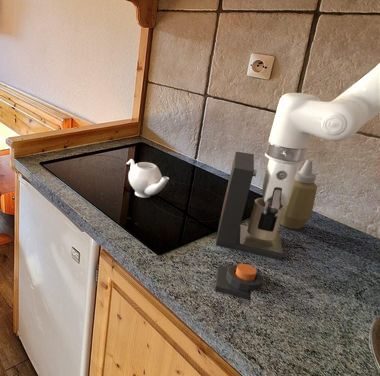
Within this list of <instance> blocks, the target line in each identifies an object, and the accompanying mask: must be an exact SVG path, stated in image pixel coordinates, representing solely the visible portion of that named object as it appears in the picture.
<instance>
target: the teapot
mask: <svg viewBox="0 0 380 376" xmlns="http://www.w3.org/2000/svg"><path fill="white" fill-rule="evenodd" d="M125 164H126V165H130V169H129V171H128V176H127V178H128V179H127V180H128V182H129V184H130V186H131V188H132V190H134V195H135V196H137V197H139V198H144V199H146V198H150V197H151V196H155V195H158V194H159V193H160V192H162V190H164V188H165V187H166V185H167V184H168V183H169V180H170V178H169V177H168V176H163V174H162V173H161V170H160V168H159V167H158V166H157V165H156V164H154V163H152V162H147V161H140V162H137V163H135V160H134V159H133V158H130V159H129V160H128V161H127V162H126V163H125Z"/></svg>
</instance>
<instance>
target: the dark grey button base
mask: <svg viewBox="0 0 380 376" xmlns="http://www.w3.org/2000/svg"><path fill="white" fill-rule="evenodd" d="M238 265H239V264H233V265H231V266H229V267H228V266H224V265H222V264H221V265H220V264H218V265H217V269H216V277H215V283H214V284H215V285H214V291H215V292H218V293H222V294H225V295H230V296H233V297H237V298H241V299H244V300H248V301H252V291H258V290H260V289H262V287H263V284H264V279H268V280H271V277H269V276H266V275H262V274H261V273H260V272H259V271H258V270H256V271H257V273H256V276H255V279H254V280H253V281H245V280H242V279H240V278H238V277H237V276H236V274H235V273H236V269H237V266H238Z"/></svg>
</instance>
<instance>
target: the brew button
mask: <svg viewBox="0 0 380 376" xmlns="http://www.w3.org/2000/svg"><path fill="white" fill-rule="evenodd" d="M237 265H238V266H237V269H236V273H235V274H236V276H237V277H238V278H240V279H242V280H245V281H254V279H255V276H256V273H257V271H258V270H257V269H256V268H255V267H254V266H252V265H250V264H248V263H239V264H237Z"/></svg>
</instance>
